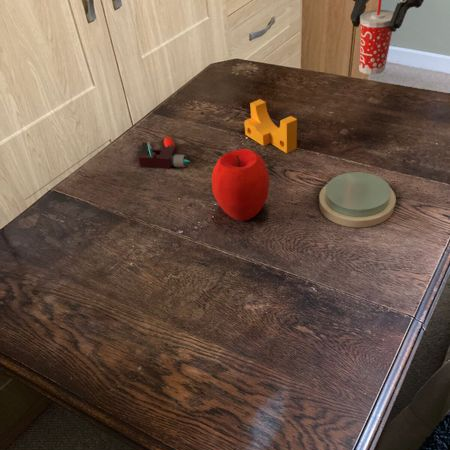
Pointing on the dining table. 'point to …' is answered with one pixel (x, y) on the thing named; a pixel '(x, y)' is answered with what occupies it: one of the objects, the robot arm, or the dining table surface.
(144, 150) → the toy gun
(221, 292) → the dining table surface
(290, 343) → the dining table surface
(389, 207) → the round push button
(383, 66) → the beverage cup
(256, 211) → the apple
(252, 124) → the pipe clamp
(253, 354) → the dining table surface
